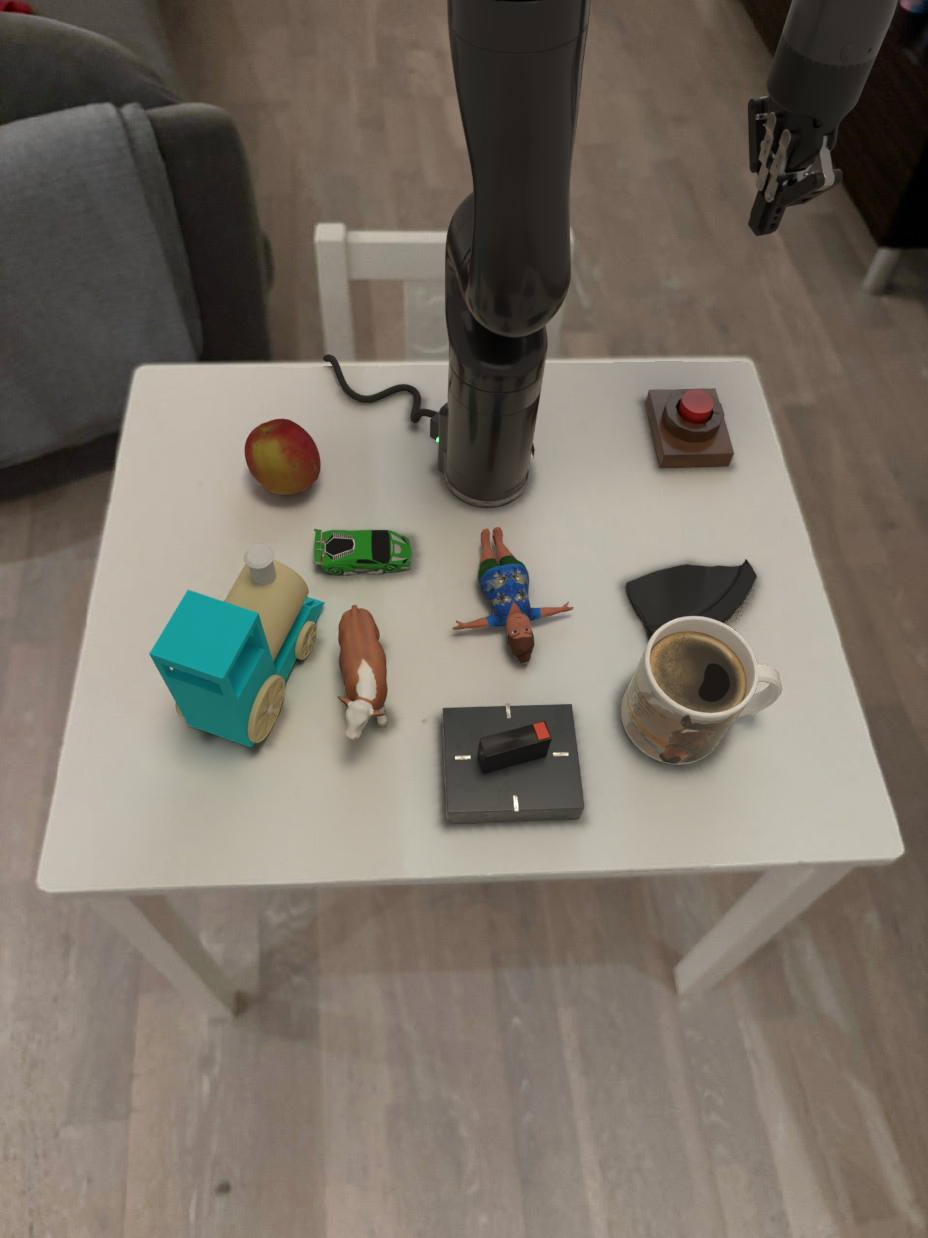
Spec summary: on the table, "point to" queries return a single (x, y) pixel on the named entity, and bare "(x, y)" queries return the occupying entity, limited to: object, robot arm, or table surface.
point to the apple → (282, 457)
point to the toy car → (361, 551)
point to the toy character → (508, 597)
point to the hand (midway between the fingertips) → (760, 229)
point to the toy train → (238, 649)
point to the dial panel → (515, 789)
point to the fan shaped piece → (690, 592)
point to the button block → (687, 432)
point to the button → (696, 406)
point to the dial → (514, 747)
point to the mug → (693, 689)
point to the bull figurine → (362, 670)
